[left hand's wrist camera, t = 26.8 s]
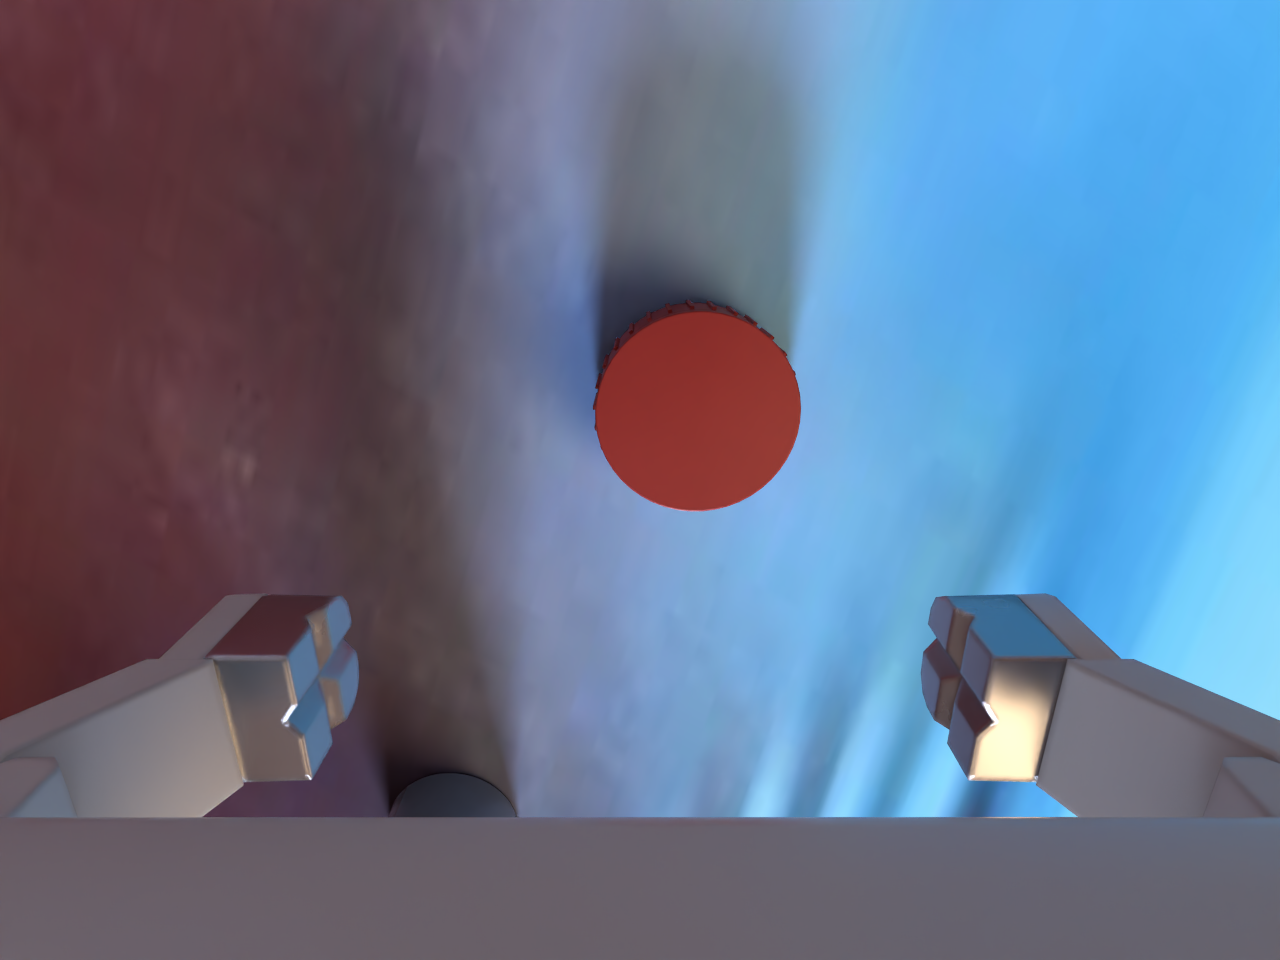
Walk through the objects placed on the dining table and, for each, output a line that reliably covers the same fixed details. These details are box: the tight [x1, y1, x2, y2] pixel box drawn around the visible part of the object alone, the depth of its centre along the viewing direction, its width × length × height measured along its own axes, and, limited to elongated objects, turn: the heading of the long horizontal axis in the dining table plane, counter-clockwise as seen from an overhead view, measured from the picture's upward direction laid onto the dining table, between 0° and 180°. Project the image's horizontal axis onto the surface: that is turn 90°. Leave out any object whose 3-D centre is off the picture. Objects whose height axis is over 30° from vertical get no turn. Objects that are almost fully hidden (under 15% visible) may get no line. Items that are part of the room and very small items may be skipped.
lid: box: [593, 300, 801, 511], centre depth 20 cm, size 5×5×2 cm
